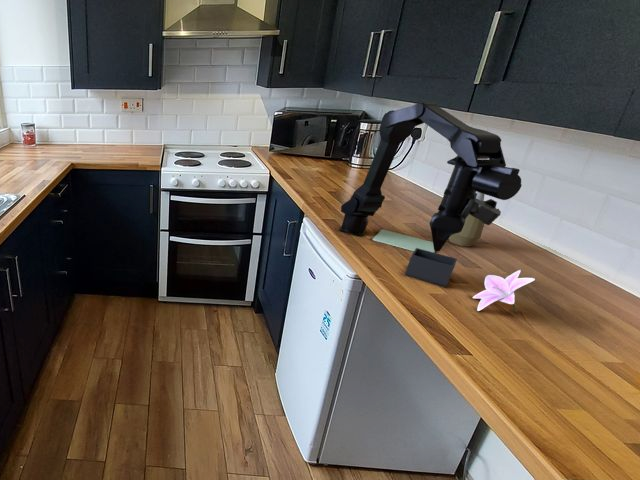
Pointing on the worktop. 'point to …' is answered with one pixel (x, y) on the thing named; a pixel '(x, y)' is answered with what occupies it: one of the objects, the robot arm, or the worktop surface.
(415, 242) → the mat
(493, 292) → the lily
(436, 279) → the bin
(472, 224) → the squeeze bottle
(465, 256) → the worktop surface
